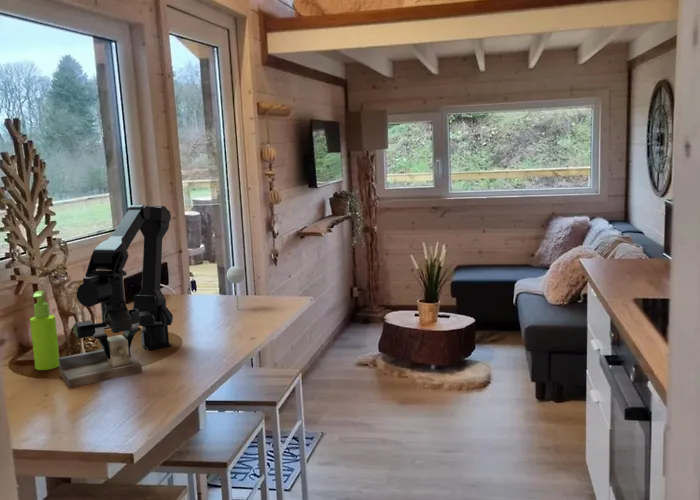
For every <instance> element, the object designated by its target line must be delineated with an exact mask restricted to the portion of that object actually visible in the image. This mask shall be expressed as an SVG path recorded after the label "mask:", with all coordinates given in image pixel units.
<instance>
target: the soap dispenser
mask: <svg viewBox="0 0 700 500" xmlns="http://www.w3.org/2000/svg"><path fill="white" fill-rule="evenodd" d="M44 294H45V290H37V291H35V292H34V293H33V296H32V297H33V299H36V303H34V304H33V309H34V316H32V317H30V318H29V323H30V333H31V334H30V335H31V341H32V342H31V343H32V350H33V359H34V369H36V371H49V370H52V369H55V368H58V367H60V365H59V358H60V352H59V342H58V333H57V322H56V316H55V314H50V307H49V303H48V302H46V301H45V295H44Z"/></svg>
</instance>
